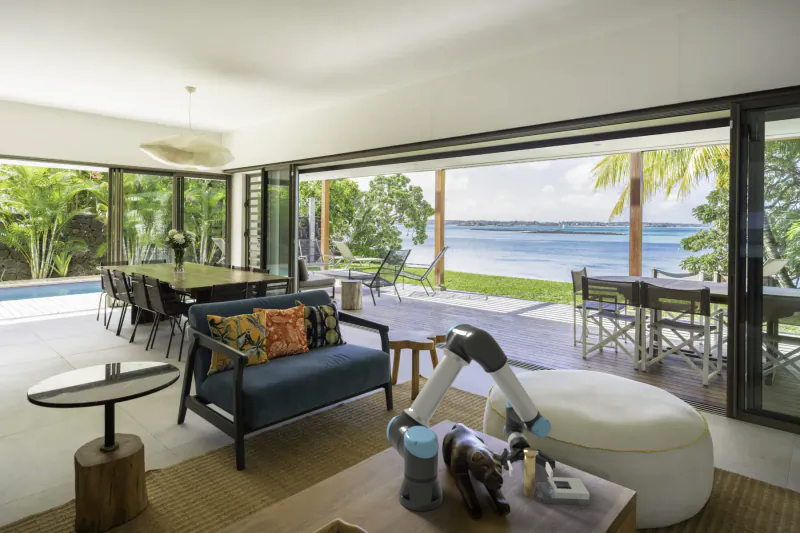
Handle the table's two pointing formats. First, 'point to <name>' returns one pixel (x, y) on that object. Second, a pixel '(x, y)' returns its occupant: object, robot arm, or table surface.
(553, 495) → the square hole block
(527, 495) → the brass pin
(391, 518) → the table surface
